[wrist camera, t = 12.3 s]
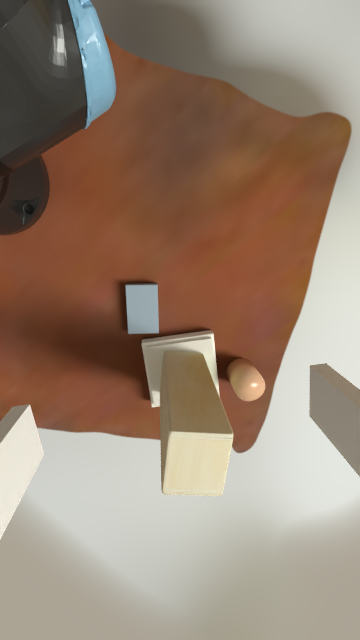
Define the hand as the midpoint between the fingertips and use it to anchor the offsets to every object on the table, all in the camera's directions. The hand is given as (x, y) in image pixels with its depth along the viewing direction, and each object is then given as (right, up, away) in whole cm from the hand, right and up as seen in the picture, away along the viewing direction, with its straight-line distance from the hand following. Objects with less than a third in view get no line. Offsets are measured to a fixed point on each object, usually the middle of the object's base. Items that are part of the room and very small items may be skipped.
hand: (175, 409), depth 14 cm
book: (-6, +6, +36) cm, 37 cm away
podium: (0, -4, +39) cm, 39 cm away
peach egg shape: (+11, -5, +40) cm, 42 cm away
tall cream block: (+1, -5, +37) cm, 37 cm away
